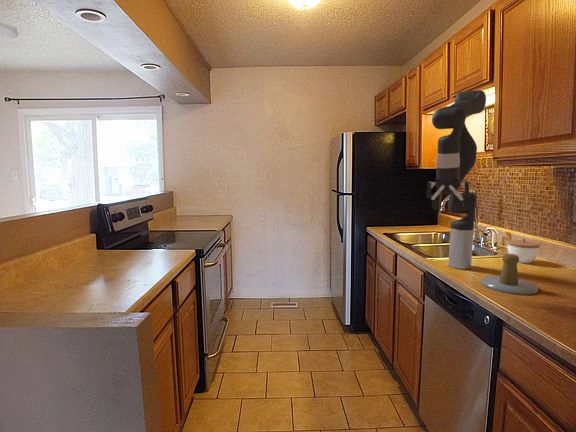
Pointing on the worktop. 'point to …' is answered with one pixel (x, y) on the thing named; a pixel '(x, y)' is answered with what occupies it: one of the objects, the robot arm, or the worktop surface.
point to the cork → (509, 270)
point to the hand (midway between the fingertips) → (447, 209)
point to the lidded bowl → (523, 250)
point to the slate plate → (521, 288)
